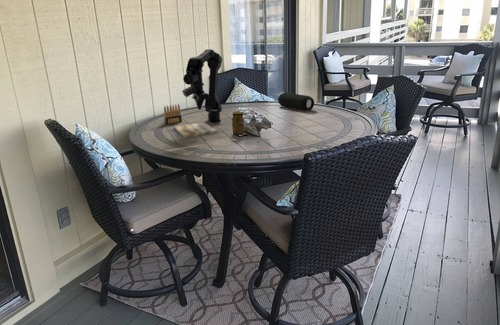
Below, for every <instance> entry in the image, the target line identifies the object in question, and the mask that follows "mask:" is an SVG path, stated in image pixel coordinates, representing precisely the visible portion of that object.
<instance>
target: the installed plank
mask: <svg viewBox="0 0 500 325" xmlns="http://www.w3.org/2000/svg"><path fill="white" fill-rule="evenodd" d="M173 129H174V130H175V131H177V132H178V133H179V134H180V135H182V136H183V137H184V138H183V139H186V138H185V137H189V138H192V137H191V136H196V137H199V136H198V135H201V133H200V132H199V131H198V130H196V129H195V128H193V127H192V126H190V125H189V124H182V125H175V126H173Z"/></svg>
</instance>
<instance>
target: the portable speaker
mask: <svg viewBox="0 0 500 325" xmlns="http://www.w3.org/2000/svg"><path fill="white" fill-rule="evenodd" d="M277 101H278V104H279V106H281V107H283V108H287V107H288V108H289V109H292V108H293V110H297V109H298V110H299V111H304V112H308V111H311V110H313V108H314V105H315V100H314V98H312V96H310V95H304V94H300V93H299V94H298V93H292V92H286V91H285V92H283V93H281V94H279V95H278V98H277ZM288 108H287V109H288Z"/></svg>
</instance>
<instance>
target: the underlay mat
mask: <svg viewBox="0 0 500 325" xmlns="http://www.w3.org/2000/svg"><path fill="white" fill-rule="evenodd" d="M167 130H168V131H169V132H170V133H171V134H173V135H174V136H175V137H176V138H178V139H179V140H181V139H189V138H195V137H202V136H209V135H214V134H221V132H220V131H219V130H217V133H211V134H204V135H198V136H191V137H185V138H184V137H183V136H182V135H180V134H179V133H178V132H177V131H175V130H174V128H170V129H169V128H168V129H167Z"/></svg>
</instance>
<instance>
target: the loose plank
mask: <svg viewBox="0 0 500 325" xmlns="http://www.w3.org/2000/svg"><path fill="white" fill-rule="evenodd" d="M188 125H190V126H192V127H193V128H195V129H196V130H198V131H199V132H200V133H201V135H202V136H205V135H204V134H209V135H212V134H211V133H216V134H218V133H217V131H218V130H217V129H216V128H214V127H213V126H211V125H209V124H207V123H206V122H197V123H189V124H188Z"/></svg>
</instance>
